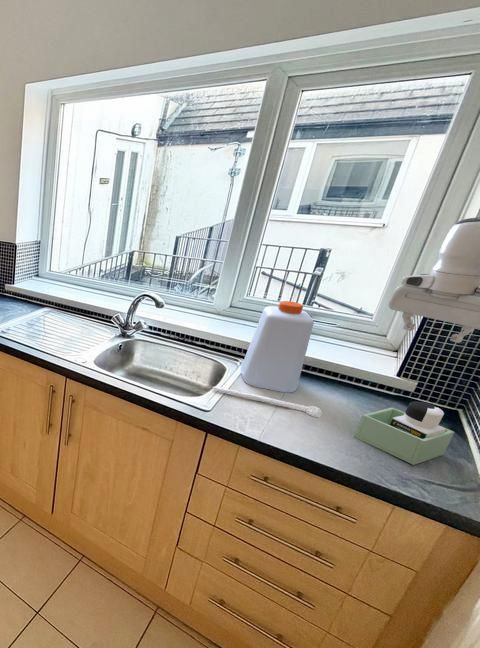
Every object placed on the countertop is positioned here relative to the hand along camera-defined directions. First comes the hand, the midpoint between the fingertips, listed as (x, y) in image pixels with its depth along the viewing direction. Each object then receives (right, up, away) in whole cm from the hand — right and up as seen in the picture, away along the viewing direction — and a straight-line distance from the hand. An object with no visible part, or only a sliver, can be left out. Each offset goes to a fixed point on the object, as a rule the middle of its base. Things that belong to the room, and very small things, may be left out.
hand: (430, 335), depth 110 cm
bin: (-9, -29, 0) cm, 30 cm away
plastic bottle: (-19, -16, +33) cm, 42 cm away
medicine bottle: (-8, -29, -2) cm, 30 cm away
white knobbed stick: (-30, -21, +19) cm, 42 cm away
